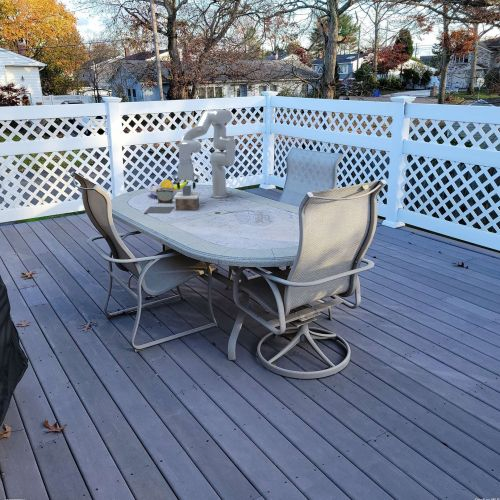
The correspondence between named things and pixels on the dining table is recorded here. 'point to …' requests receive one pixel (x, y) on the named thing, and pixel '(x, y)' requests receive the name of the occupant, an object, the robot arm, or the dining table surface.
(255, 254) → the dining table surface
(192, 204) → the storage box
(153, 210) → the rubber mat
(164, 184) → the fruit bowl
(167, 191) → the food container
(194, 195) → the lid
